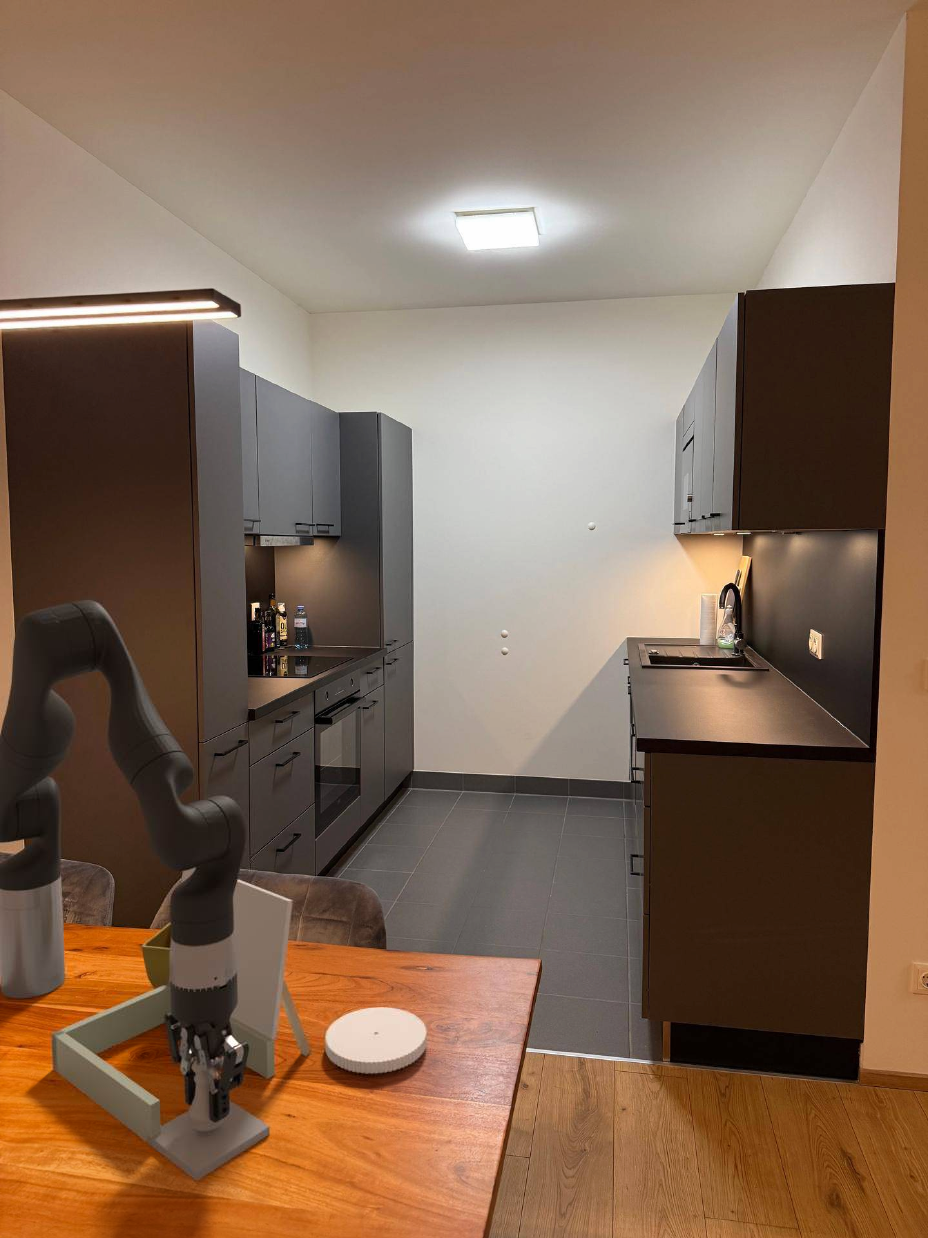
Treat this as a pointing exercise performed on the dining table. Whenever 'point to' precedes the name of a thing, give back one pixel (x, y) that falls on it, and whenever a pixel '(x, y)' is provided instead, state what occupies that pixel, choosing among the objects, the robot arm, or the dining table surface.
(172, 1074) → the dining table surface
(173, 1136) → the slate tile
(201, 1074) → the rook chess piece
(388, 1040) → the plastic lid
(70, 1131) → the dining table surface
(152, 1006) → the frame
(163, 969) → the flower pot
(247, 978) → the lid propped
